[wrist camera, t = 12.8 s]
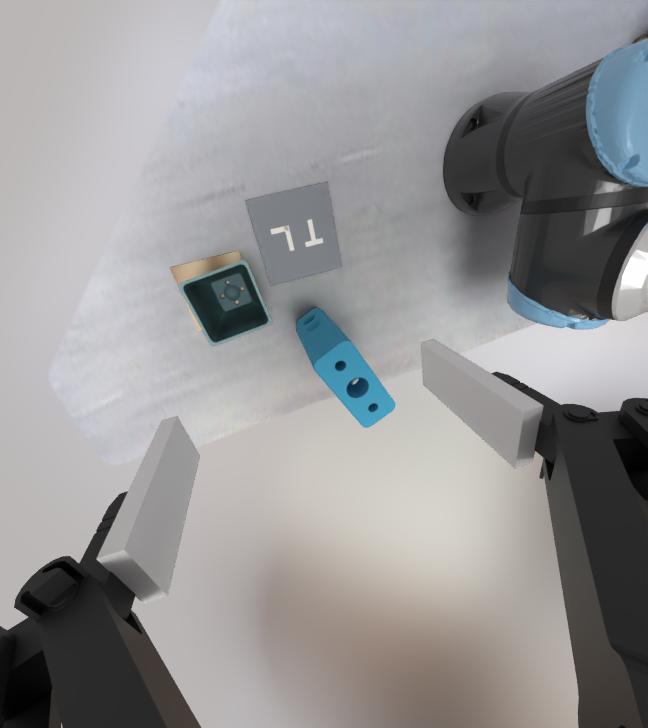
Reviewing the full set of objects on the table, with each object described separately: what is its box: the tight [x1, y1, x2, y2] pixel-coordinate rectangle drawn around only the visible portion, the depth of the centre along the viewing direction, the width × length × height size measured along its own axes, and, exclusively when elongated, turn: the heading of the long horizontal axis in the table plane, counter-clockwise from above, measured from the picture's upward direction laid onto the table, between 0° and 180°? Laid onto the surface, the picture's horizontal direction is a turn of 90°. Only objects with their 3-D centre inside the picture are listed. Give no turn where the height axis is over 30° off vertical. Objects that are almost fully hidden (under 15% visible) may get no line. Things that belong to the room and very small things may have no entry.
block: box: [296, 308, 395, 427], centre depth 42 cm, size 12×5×20 cm, turn 35°
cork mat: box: [170, 251, 244, 332], centre depth 44 cm, size 10×10×1 cm
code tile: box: [245, 182, 342, 286], centre depth 43 cm, size 12×12×1 cm
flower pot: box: [178, 260, 272, 346], centre depth 40 cm, size 9×9×9 cm
